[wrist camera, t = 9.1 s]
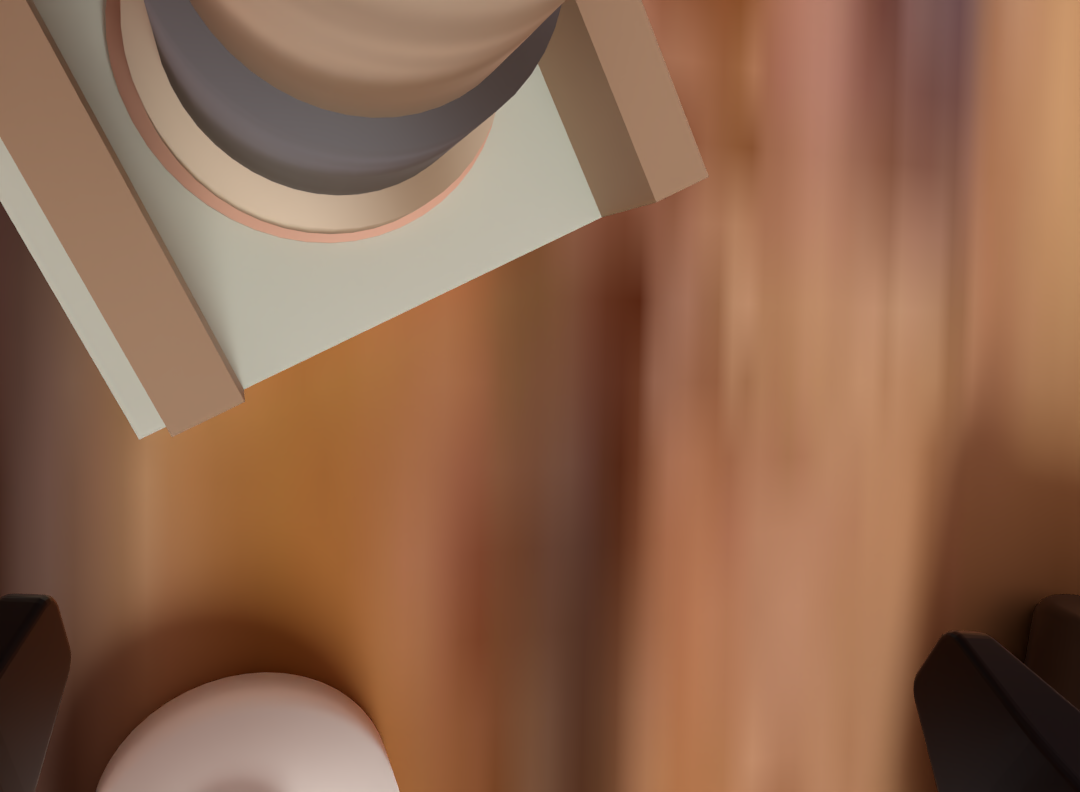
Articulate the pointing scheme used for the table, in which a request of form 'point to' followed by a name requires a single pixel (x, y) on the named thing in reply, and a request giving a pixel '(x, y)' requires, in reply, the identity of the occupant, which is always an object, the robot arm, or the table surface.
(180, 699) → the reel lid
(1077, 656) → the end cap
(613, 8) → the cream cradle stand
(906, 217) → the table surface
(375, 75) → the bobbin
